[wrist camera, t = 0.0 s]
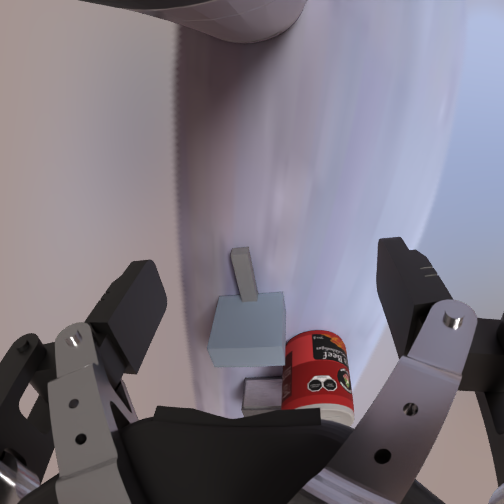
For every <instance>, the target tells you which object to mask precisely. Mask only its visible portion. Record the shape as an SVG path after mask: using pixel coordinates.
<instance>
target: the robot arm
mask: <svg viewBox="0 0 504 504" xmlns="http://www.w3.org/2000/svg"><path fill="white" fill-rule="evenodd" d="M80 1H85V2H90V3H96V4H101V5H106V6H111V7H116V8H122V9H127V10H131V11H135V12H139V13H142V14H146V15H150V16H153V17H157V18H160V19H164V20H168V21H171V22H174V23H177V24H180V25H183V26H186V27H189V28H192V29H194V30H197V31H200V32H203V33H205V34H208V35H211V36H213V37H216V38H218V39H222V40H224V41H229V42H234V43H256V42H260V41H265V40H268V39H271V38H273V37H275V36H277V35H280V34H281V33H282V32H284V31H285V30H287V29H288V28H290V26H291V25H292V24H293V23H294V22H295V21H296V20H297V19H298V17H299V16H300V14H301V12H302V11H303V8H304V6H305V4H306V2H307V0H80ZM376 284H377V292H378V296H379V299H380V301H381V304H382V307H383V310H384V313H385V316H386V319H387V322H388V325H389V328H390V331H391V334H392V337H393V340H394V344H395V347H396V350H397V353H398V356H399V361H398V363H397V365H396V366H395V368H394V370H393V371H392V373H391V375H390V376H389V378H388V380H387V381H386V383H385V384H384V386H383V388H382V389H381V391H380V392H379V394H378V395H377V397H376V399H375V400H374V401H373V403H372V405H371V406H370V408H369V409H368V410H367V412H366V413H365V415H364V417H363V418H362V419H361V421H360V422H359V423H358V425H357V426H356V428H355V429H353V428H351V427H349V426H347V425H344V424H341V423H338V422H334V421H330V420H324V419H321V412H320V408H306V409H286V410H275V411H270V412H266V413H262V414H257V415H253V416H248V417H243V418H238V419H228V418H224V417H221V416H217V415H213V414H210V413H206V412H203V411H199V410H196V409H191V408H177V407H165V406H157V408H156V411H155V414H154V417H150V418H145V419H142V420H138V417H137V415H136V412H135V410H134V407H133V405H132V402H131V399H130V397H129V394H128V391H127V388H126V386H125V383H124V382H123V380H122V375H123V373H127V374H137V373H138V371H139V368H140V366H141V364H142V361H143V359H144V357H145V355H146V352H147V350H148V348H149V346H150V343H151V341H152V339H153V337H154V335H155V332H156V330H157V328H158V326H159V324H160V321H161V319H162V317H163V315H164V313H165V310H166V307H167V297H166V293H165V290H164V287H163V285H162V282H161V279H160V277H159V274H158V271H157V268H156V265H155V263H154V262H153V261H152V260H143V261H133V262H131V264H130V265H129V266H128V268H127V269H126V270H125V272H124V273H123V274H122V275H121V276H120V277H119V278H118V279H116V280H115V281H114V282H113V283H112V284H111V285H110V287H109V288H108V289H107V291H106V293H105V294H104V295H103V296H102V298H101V301H99V302H98V303H97V305H96V306H95V308H94V309H93V310H92V312H91V313H90V315H89V316H88V318H87V319H86V321H85V322H84V323H82V322H81V323H75V324H72V325H70V326H68V327H66V328H65V329H64V330H62V331H61V332H60V333H59V335H58V336H57V338H56V340H55V342H52V343H48V344H42V342H41V341H40V339H39V338H38V336H37V335H36V334H32V333H31V334H26V335H24V336H22V337H20V338H19V339H17V340H16V341H15V342H14V343H13V345H12V346H11V347H10V349H9V350H8V352H7V353H6V355H5V356H4V358H3V359H2V361H1V362H0V504H445V503H444V502H443V501H442V500H440V499H439V498H438V497H437V496H435V495H434V494H432V492H430V491H429V490H428V489H427V488H425V487H424V486H423V485H422V484H421V483H419V482H418V481H417V480H416V479H415V478H416V477H417V475H418V473H419V471H420V470H421V468H422V466H423V464H424V462H425V460H426V458H427V457H428V455H429V453H430V451H431V449H432V447H433V445H434V443H435V441H436V439H437V437H438V434H439V432H440V430H441V428H442V426H443V424H444V421H445V419H446V417H447V414H448V412H449V410H450V407H451V405H452V402H453V400H454V397H455V395H456V392H457V390H460V391H461V390H462V391H475V394H476V397H477V400H478V403H479V407H480V410H481V413H482V417H483V420H484V424H485V427H486V431H487V435H488V439H489V443H490V447H491V452H492V456H493V461H494V465H495V471H496V476H497V481H498V488H497V489H496V490H495V491H494V493H493V494H492V496H491V498H490V500H489V503H488V504H504V313H503V315H502V318H501V320H494V319H482V318H477V316H476V313H475V311H474V310H473V309H472V308H471V307H470V306H468V305H467V304H465V303H463V302H461V301H457V300H453V298H452V297H451V295H450V293H449V291H448V290H447V288H446V287H445V285H444V283H443V282H442V280H441V279H440V277H439V276H437V272H436V271H435V269H434V268H432V265H431V263H430V262H429V260H428V259H427V257H426V256H424V255H423V254H421V253H420V252H418V251H417V250H409V249H408V247H407V246H406V244H405V243H404V241H403V240H402V238H401V237H393V238H382V239H379V242H378V257H377V275H376ZM29 383H30V384H31V385H32V386H33V388H34V389H35V390H36V391H37V392H38V393H39V396H38V399H37V400H36V403H35V404H34V406H33V408H32V411H31V412H30V414H29V417H28V418H27V419H26V418H25V417H24V416H23V415H22V414H21V412H20V410H19V401H20V398H21V397H22V395H23V393H24V391H25V389H26V387H27V386H28V384H29ZM54 448H55V451H56V458H57V463H58V468H59V473H58V474H57V475H55V476H54V477H52V478H51V479H49V480H48V481H46V482H45V483H44V484H42V485H41V482H42V479H43V476H44V474H45V471H46V468H47V465H48V463H49V460H50V458H51V455H52V453H53V450H54Z"/></svg>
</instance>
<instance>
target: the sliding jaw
mask: <svg viewBox="0 0 504 504" xmlns="http://www.w3.org/2000/svg"><path fill="white" fill-rule="evenodd" d="M231 259H232V263H233V267H234V271H235V275H236V279H237V283H238V287H239V291H240V295H232V296H219V300H218V304H217V308H216V313H215V317H214V321H213V325H212V329H211V334H210V338H209V342H208V346H207V350H208V352H209V355H210V357H211V360H212V362H213V364H214V367H261V366H283V365H285V340H286V309H285V302H284V295H283V292H274V293H261V294H258V291H257V286H256V281H255V276H254V271H253V266H252V262H251V257H250V252H249V247H243V248H232V252H231Z"/></svg>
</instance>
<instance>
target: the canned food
mask: <svg viewBox="0 0 504 504" xmlns="http://www.w3.org/2000/svg"><path fill="white" fill-rule="evenodd" d="M306 408H320V412H321V419H324V420H330V421H334V422H338V423H341V424H344V425H347V426H349V427H350V426H351V425H352V423H353V422H354V405H353V397H352V389H351V381H350V374H349V367H348V360H347V353H346V347H345V345H344V343H343V341H342V340H341V338H340V337H339V336H338V335H336V334H334V333H332V332H329V331H322V330H315V331H308V332H304V333H301V334H299V335H297V336H295V337H293V338H292V339H291V340H290V341H289V342H288V343H287V345H286V347H285V365H283V374H282V399H281V410H286V409H306Z"/></svg>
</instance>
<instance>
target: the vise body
mask: <svg viewBox="0 0 504 504" xmlns="http://www.w3.org/2000/svg"><path fill="white" fill-rule="evenodd" d="M281 399H282V377H260V378H245V385H244V393H243V401H242V409H241V410H242V413H243V415H244V417H248V416H253V415H257V414H262V413H266V412H270V411H275V410H281Z"/></svg>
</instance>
